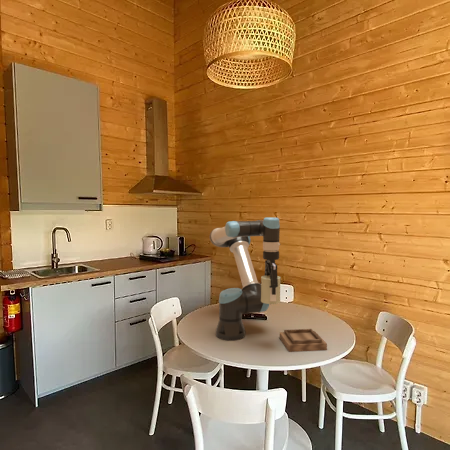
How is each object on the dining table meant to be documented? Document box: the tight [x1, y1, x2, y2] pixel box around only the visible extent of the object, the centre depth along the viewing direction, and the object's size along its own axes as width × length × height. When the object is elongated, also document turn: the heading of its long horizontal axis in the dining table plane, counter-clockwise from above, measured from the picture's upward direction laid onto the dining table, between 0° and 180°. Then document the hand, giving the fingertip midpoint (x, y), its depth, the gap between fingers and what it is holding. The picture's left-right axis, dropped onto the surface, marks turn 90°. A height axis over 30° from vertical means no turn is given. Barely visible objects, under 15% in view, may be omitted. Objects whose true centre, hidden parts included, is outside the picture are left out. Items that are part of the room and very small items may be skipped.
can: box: [260, 274, 281, 305], centre depth 162 cm, size 9×9×12 cm
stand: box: [279, 328, 328, 353], centre depth 167 cm, size 18×16×4 cm
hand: (270, 298), depth 163 cm, fingers closed on can, 9 cm apart
